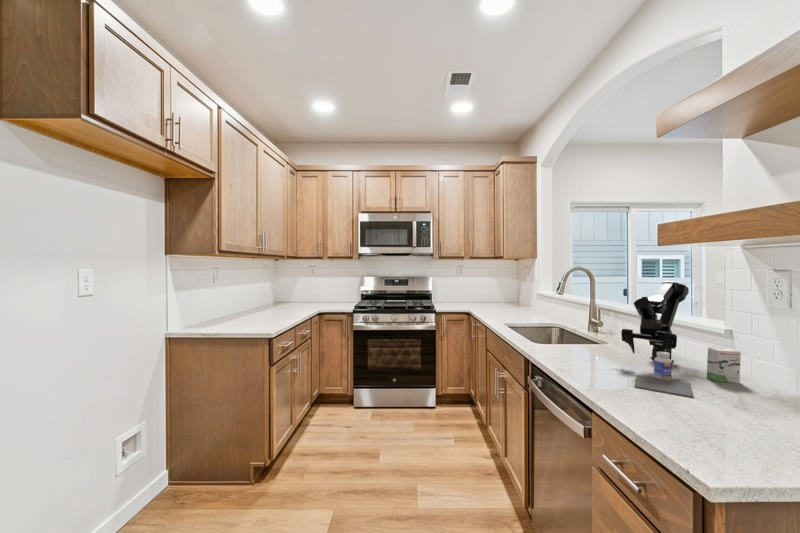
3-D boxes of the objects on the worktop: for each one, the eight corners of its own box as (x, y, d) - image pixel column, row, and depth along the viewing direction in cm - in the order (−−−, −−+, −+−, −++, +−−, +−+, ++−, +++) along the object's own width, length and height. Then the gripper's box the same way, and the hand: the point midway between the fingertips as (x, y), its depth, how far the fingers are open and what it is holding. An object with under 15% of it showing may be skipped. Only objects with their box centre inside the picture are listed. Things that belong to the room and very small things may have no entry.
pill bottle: (665, 381, 134) (666, 354, 134) (650, 376, 139) (651, 351, 139) (674, 379, 136) (675, 353, 136) (659, 375, 141) (660, 350, 141)
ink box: (716, 382, 134) (717, 350, 134) (705, 377, 139) (706, 347, 139) (740, 382, 134) (741, 350, 134) (729, 378, 139) (730, 347, 139)
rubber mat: (636, 376, 140) (636, 374, 140) (690, 385, 130) (690, 383, 130) (634, 387, 127) (634, 385, 127) (693, 398, 117) (693, 396, 117)
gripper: (622, 309, 155) (619, 339, 146) (677, 314, 145) (677, 346, 136) (623, 325, 162) (620, 355, 153) (676, 331, 151) (676, 363, 142)
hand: (647, 354), depth 146 cm, fingers open, 9 cm apart
